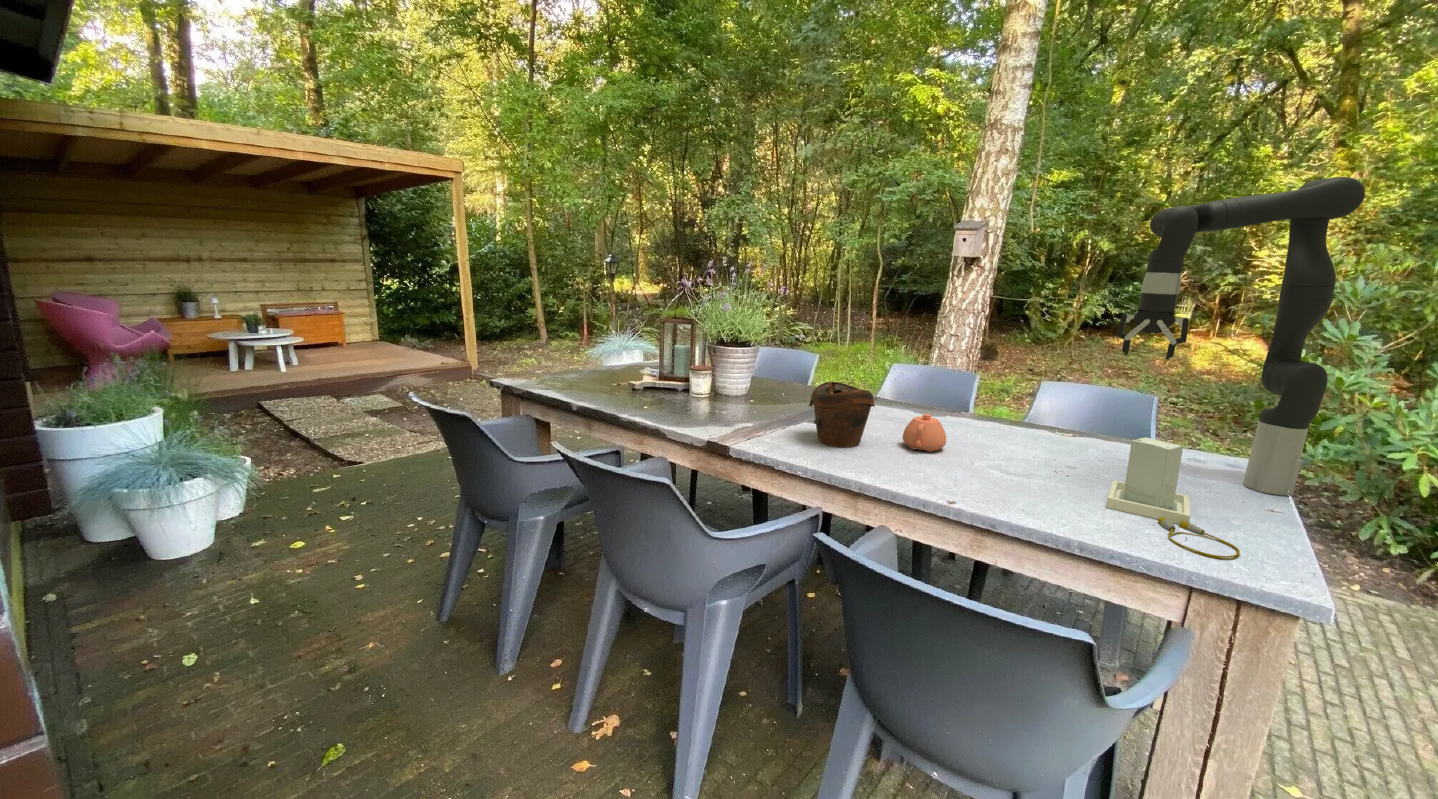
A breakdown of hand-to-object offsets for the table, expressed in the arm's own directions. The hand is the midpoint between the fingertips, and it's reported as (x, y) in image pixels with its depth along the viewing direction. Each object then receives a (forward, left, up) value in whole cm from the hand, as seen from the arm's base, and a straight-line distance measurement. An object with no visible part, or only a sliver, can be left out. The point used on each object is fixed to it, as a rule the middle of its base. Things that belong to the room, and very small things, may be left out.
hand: (1146, 357), depth 151 cm
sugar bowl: (+49, +12, -32) cm, 60 cm away
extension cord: (-15, +35, -33) cm, 50 cm away
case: (+71, +23, -32) cm, 81 cm away
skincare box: (-6, +20, -32) cm, 38 cm away
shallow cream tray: (-6, +20, -32) cm, 38 cm away
